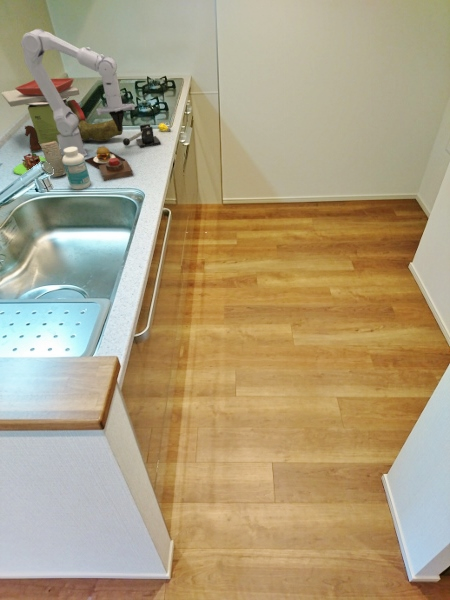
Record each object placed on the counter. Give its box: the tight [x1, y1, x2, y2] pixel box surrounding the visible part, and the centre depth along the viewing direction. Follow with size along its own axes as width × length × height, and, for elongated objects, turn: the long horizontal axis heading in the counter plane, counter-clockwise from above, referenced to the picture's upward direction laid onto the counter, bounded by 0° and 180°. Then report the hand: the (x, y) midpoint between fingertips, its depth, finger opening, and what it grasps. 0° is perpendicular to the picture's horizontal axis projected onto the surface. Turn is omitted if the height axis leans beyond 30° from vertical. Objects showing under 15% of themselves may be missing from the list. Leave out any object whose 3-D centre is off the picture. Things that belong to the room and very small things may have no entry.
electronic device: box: [0, 85, 81, 107], centre depth 173 cm, size 29×20×2 cm
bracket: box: [135, 123, 162, 149], centre depth 174 cm, size 9×8×7 cm
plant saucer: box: [14, 77, 75, 95], centre depth 169 cm, size 18×18×3 cm
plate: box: [24, 97, 70, 106], centre depth 173 cm, size 21×21×2 cm
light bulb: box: [158, 122, 172, 132], centre depth 186 cm, size 3×6×4 cm
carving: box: [40, 141, 66, 177], centre depth 150 cm, size 6×8×12 cm
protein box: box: [27, 99, 68, 145], centre depth 177 cm, size 10×15×16 cm
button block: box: [98, 160, 134, 182], centre depth 152 cm, size 11×10×4 cm
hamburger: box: [84, 146, 126, 171], centre depth 161 cm, size 12×12×6 cm
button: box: [109, 158, 119, 166], centre depth 151 cm, size 4×4×2 cm
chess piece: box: [24, 125, 42, 153], centre depth 170 cm, size 5×5×10 cm
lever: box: [122, 126, 148, 147], centre depth 172 cm, size 13×3×3 cm, turn 113°
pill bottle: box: [62, 147, 92, 190], centre depth 142 cm, size 8×7×14 cm
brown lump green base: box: [13, 152, 46, 176], centre depth 157 cm, size 15×15×6 cm
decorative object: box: [67, 99, 86, 123], centre depth 184 cm, size 14×4×15 cm
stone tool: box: [78, 119, 124, 142], centre depth 177 cm, size 20×9×10 cm
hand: (120, 130), depth 162 cm, fingers closed
